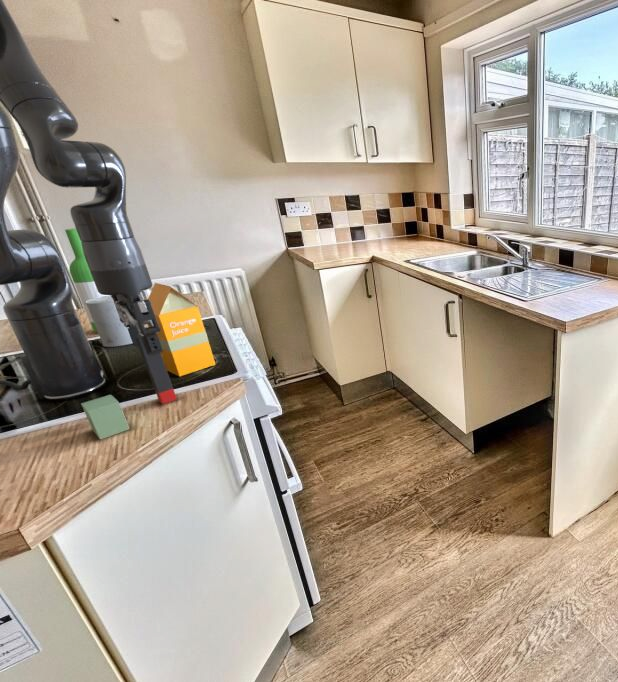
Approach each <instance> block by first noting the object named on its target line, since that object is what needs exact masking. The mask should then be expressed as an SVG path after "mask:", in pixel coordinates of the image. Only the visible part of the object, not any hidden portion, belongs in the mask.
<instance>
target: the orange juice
mask: <svg viewBox="0 0 618 682" xmlns="http://www.w3.org/2000/svg"><path fill="white" fill-rule="evenodd" d="M147 300H149V301H150V302H151V306H152V309H153V311H154V314H155V317H156V320H157V322H158V325H159V327H160V332H158V333H157V335H158V338H159V341H160V344H161V346H162V349H163V351H162V353H161V356H162V358H163V361H164V364H165V367H166V370H167V372H170V373H171V374H174V375H175V376H178V377H183V376H186V375H189V374H191V373H194V372H198V371H201V370H203V369H207V368H210V367H212V366H215V365H216V361H215V357H214V353H213V351H212V347H211V345H210V341H209V337H208V335H207V330H206V329H205V325H204V322H203V318H202V316H201V312H200V310H199V306H198V305H196V303H194V302H193V301H191V300H190V299H189V298H187V297H186V296H184V295H183V294H182V293H180V292H179V291H177V290H176V289H175V288H174V287H172V286H170V285H166V284H163V283H162V284H161V283H158V282H154V283H153V285H152V288H151V291H150V292H149V296H148V297H147ZM147 327H150V325H149V324H147Z"/></svg>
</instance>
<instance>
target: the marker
mask: <svg viewBox="0 0 618 682" xmlns="http://www.w3.org/2000/svg"><path fill="white" fill-rule="evenodd" d="M135 339H136V342H137V344H138V346H137V347H138V349H139V352H140V355H141V357H142V360H143V363H144V365H145V368H146V370H147V373H148V376H149V378H150V381H151V384H152V387H153V390H154V392H155V394H156V397H157V400H158V402H159V403H161V404H162V405H165V404H168V403H171V402H174V401H177V400H178V397H177V394H176V392H175V390H174V387H173V384H172V381H171V378H170V375H169V373H168V372H169V371H167V370H166V367H165V364H164V361H163V358H162V356H161V353H159V354H155V355H149V354H147V352H146V349H145V346H144V343H143V341H142V338H141V336H140V335H136V336H135Z"/></svg>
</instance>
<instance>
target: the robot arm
mask: <svg viewBox="0 0 618 682" xmlns="http://www.w3.org/2000/svg"><path fill="white" fill-rule="evenodd" d="M2 105H3V106H2ZM5 109H6V110H5ZM7 112H8V113H9V114H8V113H7ZM9 115H10V116H11V117H12V118H13V120H14V121H15V122H16V123H17V126H19V129H20V131H21V133H22V136H23V137H24V140H25V142H26V144H27V146H28V150H29V153H30V155H31V159H32V161H33V164H34V167H35V169H36V171H37V172H38V173H39V175H40V176H41V177H43V179H45V180H46V181H48V182H49V183H51V184H53V185H54V186H57V187H60V188H67V189H72V188H73V189H75V188H76V189H77V188H78V189H79V188H94V189H95V190H94V191H95V192H94V195H93V198H92V199H91V200H89V201H85V202H82V203H81V202H80V203H76V204H75V205H73V206H71V207H70V209H69V213H70V216H71V219H72V222H73V225H74V229H76V230H77V233H78V235H79V238H80V240H81V244H82V248H83V253H84V256H85V259H86V261H87V264H88V267H89V269H90V272H91V274H92V277H93V280H94V282H95V285H96V287H97V290H98V292H99V293H100V294H102V295H111V297H112V298H113V301H114V304H115V306H116V309H117V312H118V315H119V317H120V321H121V322H122V323H124V326H125V327H126V328H127V327H129V328H127V329H128V332H129V334H130V337H131V340H132V342H133V343H132V344H133V346H135V347H138V344H137V342H136V339H135V336H136V335H140V336H141V338H142V341H143V343H144V346H145V349H146V352H147V354H149V355H155V354H159V353H162V351H163V349H162V346H161V344H160V341H159V338H158V335H157V333H158V332H160V327H159V325H158V322H157V320H156V317H155V314H154V311H153V309H152V306H151V302H150V301H149V300H148V299H144V297H143V295H142V294H141V292H142V291H146V290H147V291H148V290H149V289H152V288H153V282H152V279H151V276H150V273H149V270H148V267H147V264H146V261H145V258H144V254H143V252H142V249H141V247H140V246H139V245H140V244H139V243H138V241H137V239H136V237H135V234H134V232H133V228H132V226H131V222H130V219H129V217H128V211H127V172H126V166H125V165H124V162H123V160H122V158H121V157H120V155H119V154H118V153H117V152H116V151H115V150H114V149H113V148H112V147H110V146H109V145H107V144H105V143H103V142H97V141H83V140H81V141H80V140H67V139H69V138H71V137H74V136H75V135H76V133H77V132H78V130H79V123H78V120H77V118H76V116H75V115H74V113H73V112H72V110H71V109H70V107H68V106H67V104H66V103H65V102H64V100H63V98H62V97H61V96H60V95H59V93H58V92H57V90H55V88H54V87H53V86H52V84H51V83H50V82H49V80H48V79H47V77H46V76H45V74H44V73H43V72H42V70H41V68H40V67H39V65H38V64H37V61H36V60H35V58H34V56H33V54H32V53H31V51H30V48H29V47H28V45H27V43H26V41H25V40H24V37H23V35H22V33H21V32H20V30H19V27H18V25H17V24H16V23H15V20H14V18H13V16H12V14H11V13H10V11H9V9H8V7H7V6H6V4H5V2H4V0H0V286H5V285H10V284H16V283H19V285H20V288H19V290H18V292H17V293H16V294H15V295H14V296H13V297H12V298H11V299H9V300H8V301H6V302H5V303H4V305H2V309H3V313H4V314H5V316H6V319H7V321H8V323H9V325H10V327H11V329H12V331H13V333H14V335H15V337H16V339H17V341H18V343H19V345H20V347H21V349H22V352H23V353H24V354H23V355H21V356H20V361H21V363H22V365H23V367H24V369H25V371H26V373H27V375H28V377H29V378H28V379H26V380H24V381H23V382H22V383H21V384H18V383H16V382H13V381H9V380H3V379H0V385H2V386H7V387H11V388H13V389H15V390H19V391H20V390H22V391H23V390H26V389H28V388H29V385H32V387H33V389H34V390H35V392H36V393H37V395H38V398H39V400H46V401H49V402H53V401H54V402H55V401H65V400H71V399H75V398H79V397H82V396H85V395H89V394H91V393H94V392H96V391H98V390H100V389H102V388H103V387H105V386H106V385H107V381H106V379H105V377H104V371H103V369H101V368H100V365H99V363H98V361H97V357H96V356H95V354H94V352H93V349H92V347H91V344H90V342H89V339H88V337H87V334H86V332H85V330H84V327H83V326H82V323H81V321H80V318H79V316H78V313H77V311H76V309H75V305H74V304H73V288H72V285H71V283H70V280H69V276H68V274H67V271H66V267H65V265H64V262H63V259H62V256H61V254H60V252H59V251H58V249H57V247H56V246H55V244H54V243H53V241H52V240H51V239H50V238H49V237H47V235H45V234H43V233H41V232H39V231H37V230H33V229H26V228H25V229H12V230H8V228H7V222H6V218H5V201H6V197H7V194H8V192H9V189H10V187H11V185H12V183H13V181H14V178H15V177H16V174H17V171H18V169H19V165H20V160H21V159H20V157H21V156H20V151H19V146H18V143H17V139H16V134H15V130H14V128H13V124H12V120H11V119H10V116H9ZM148 324H149V325H150V327H148V326H147V327H145V325H148Z"/></svg>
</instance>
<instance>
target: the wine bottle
mask: <svg viewBox="0 0 618 682" xmlns="http://www.w3.org/2000/svg"><path fill="white" fill-rule="evenodd" d="M64 231H65V234H66V236H67V239H68V242H69V244H70V247H71V250H72V252H73V254H74V257H75V258H74V259H73V260H72V261H71V263H70V264H69V269H68V270H69V273H70V276H71V279H72V282H73V284H74V287H75V289H76V292H77V294H78V297H79V299H80V301H81V304H82V306H83V309H84V311H85V313H86V317H87V318H88V322H89V323H90V325H91V329H92V330H93V332H95V333H98V331H97V329H96V326H95V324H94V321H93V319H92V316H91V314H90V311H89V309H88V306H87V304H86V303H85V302H86V301H88V300H90V299H94V298H98V297H103V296H109V295H102V294H100V293H99V292H98V290H97V287H96V285H95V282H94V280H93V277H92V274H91V272H90V269H89V267H88V264H87V261H86V259H85V256H84V253H83V248H82V244H81V240H80V238H79V235H78V233H77V230H76V228H65V229H64Z"/></svg>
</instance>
